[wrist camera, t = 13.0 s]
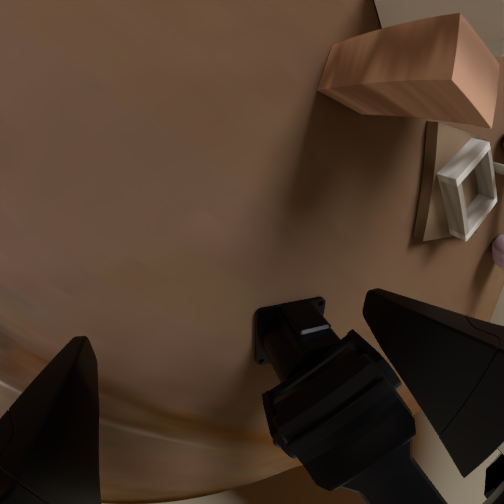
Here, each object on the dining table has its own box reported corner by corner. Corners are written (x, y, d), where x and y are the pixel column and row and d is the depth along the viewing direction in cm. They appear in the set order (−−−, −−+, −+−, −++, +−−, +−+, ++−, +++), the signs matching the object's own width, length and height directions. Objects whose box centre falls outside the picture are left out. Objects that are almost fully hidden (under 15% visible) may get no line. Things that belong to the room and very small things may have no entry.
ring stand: (467, 228, 31) (522, 257, 22) (413, 236, 27) (482, 276, 19) (480, 139, 26) (542, 155, 17) (426, 121, 22) (508, 135, 14)
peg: (360, 114, 20) (491, 128, 10) (316, 90, 19) (451, 79, 8) (374, 70, 19) (499, 65, 9) (332, 44, 17) (460, 12, 7)
